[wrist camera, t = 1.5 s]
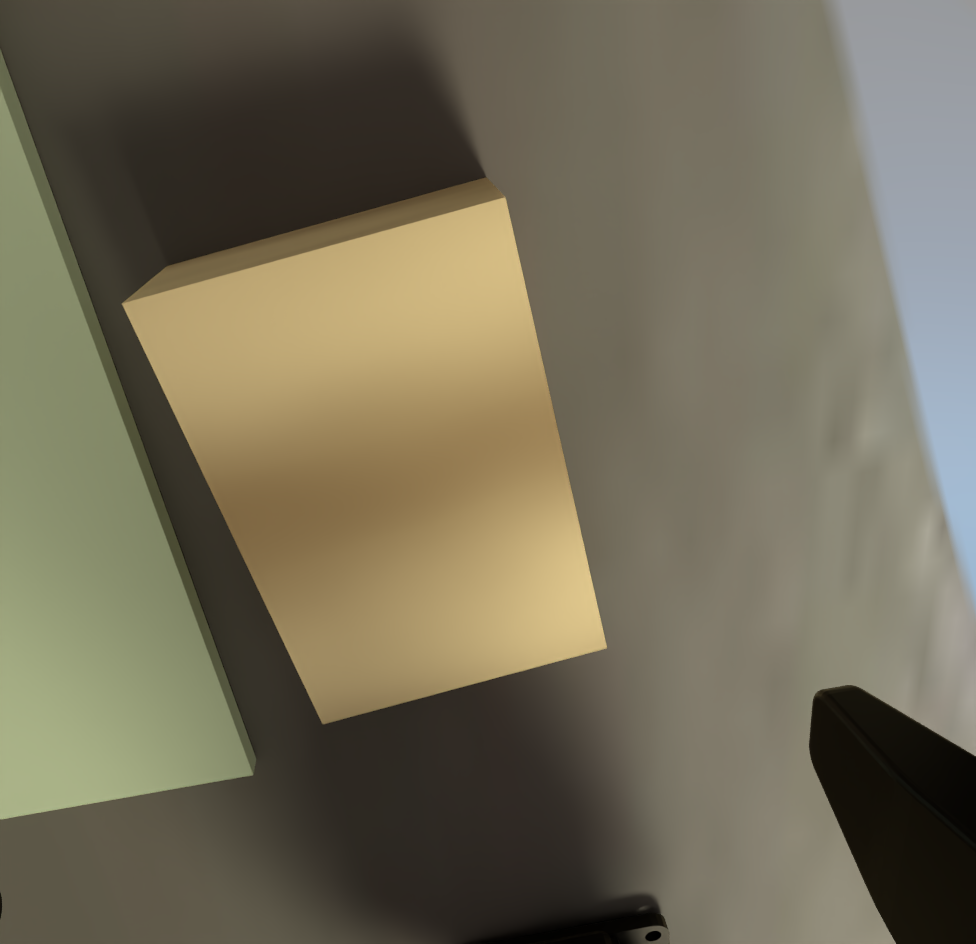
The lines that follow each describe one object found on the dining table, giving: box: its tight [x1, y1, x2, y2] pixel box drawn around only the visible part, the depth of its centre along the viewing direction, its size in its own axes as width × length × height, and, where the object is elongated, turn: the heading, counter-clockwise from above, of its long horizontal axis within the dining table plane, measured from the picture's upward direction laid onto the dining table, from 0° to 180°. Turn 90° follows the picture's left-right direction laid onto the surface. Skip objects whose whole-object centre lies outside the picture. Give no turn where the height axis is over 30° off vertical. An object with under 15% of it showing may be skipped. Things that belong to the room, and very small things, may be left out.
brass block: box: [122, 177, 607, 724], centre depth 15 cm, size 9×6×3 cm, turn 14°
